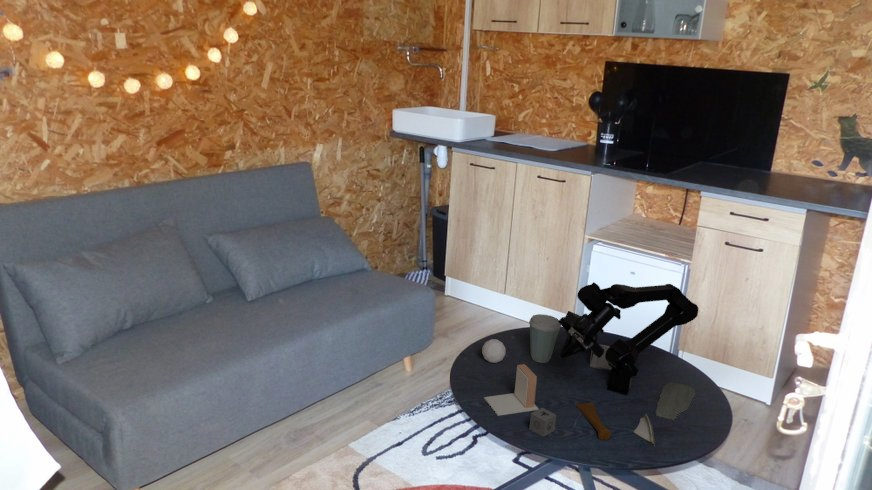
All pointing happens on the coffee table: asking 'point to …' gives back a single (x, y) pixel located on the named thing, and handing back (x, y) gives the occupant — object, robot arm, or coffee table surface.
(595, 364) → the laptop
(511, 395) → the mat
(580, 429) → the coffee table surface
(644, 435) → the ceramic fragment
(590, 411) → the primitive tool
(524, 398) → the tile
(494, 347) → the geometric ball
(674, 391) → the stone slab
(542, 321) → the disposable coffee cup
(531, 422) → the dice cube
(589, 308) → the robot arm
